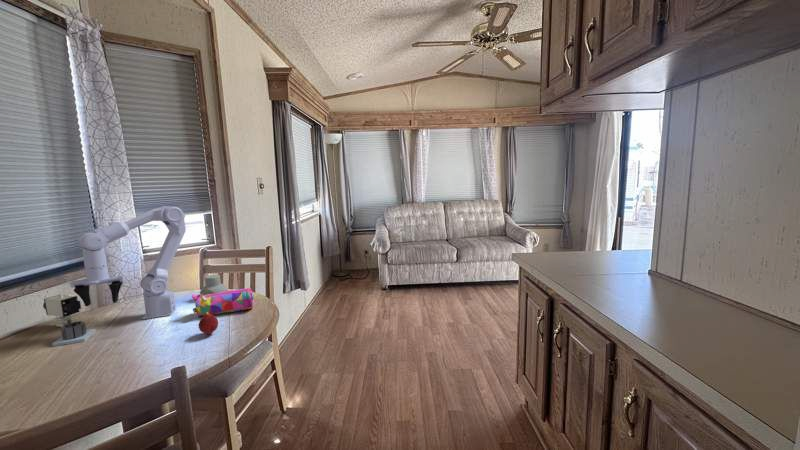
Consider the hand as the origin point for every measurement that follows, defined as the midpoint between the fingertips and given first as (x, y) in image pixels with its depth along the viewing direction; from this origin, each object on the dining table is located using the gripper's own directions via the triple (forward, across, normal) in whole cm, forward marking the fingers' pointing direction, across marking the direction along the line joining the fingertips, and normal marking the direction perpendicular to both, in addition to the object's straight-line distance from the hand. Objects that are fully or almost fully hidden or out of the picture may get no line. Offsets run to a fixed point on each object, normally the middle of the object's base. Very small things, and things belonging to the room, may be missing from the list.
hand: (102, 303), depth 116 cm
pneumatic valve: (+10, -16, +11) cm, 22 cm away
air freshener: (+10, +32, +21) cm, 40 cm away
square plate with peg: (+10, -7, -5) cm, 13 cm away
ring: (+9, -7, -5) cm, 12 cm away
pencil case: (+10, +38, -1) cm, 40 cm away
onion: (+10, +35, -21) cm, 42 cm away
